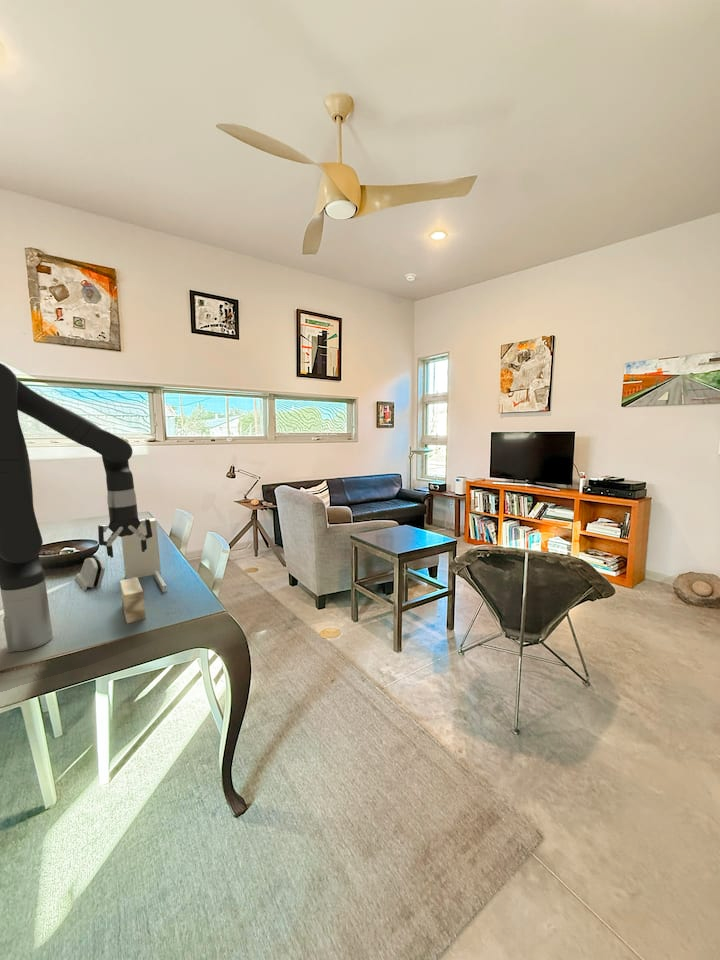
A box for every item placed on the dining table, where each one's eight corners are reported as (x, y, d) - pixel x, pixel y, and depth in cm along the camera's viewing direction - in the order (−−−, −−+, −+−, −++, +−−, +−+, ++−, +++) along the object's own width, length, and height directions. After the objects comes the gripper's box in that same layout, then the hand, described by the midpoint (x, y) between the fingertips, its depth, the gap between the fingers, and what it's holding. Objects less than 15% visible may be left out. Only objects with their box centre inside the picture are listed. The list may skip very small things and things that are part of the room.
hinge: (74, 578, 152) (82, 553, 153) (88, 579, 155) (96, 554, 156) (84, 591, 140) (92, 563, 141) (99, 591, 144) (107, 564, 145)
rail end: (127, 623, 117) (124, 595, 116) (122, 605, 129) (119, 580, 127) (145, 618, 120) (143, 591, 119) (139, 601, 132) (136, 576, 130)
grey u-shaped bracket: (133, 599, 133) (127, 538, 130) (125, 576, 153) (119, 522, 150) (171, 590, 140) (166, 531, 137) (158, 569, 161) (154, 518, 157)
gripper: (95, 509, 112) (101, 562, 114) (150, 502, 120) (155, 552, 123) (94, 504, 118) (100, 555, 120) (146, 498, 126) (151, 546, 129)
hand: (127, 554), depth 121 cm, fingers open, 8 cm apart
